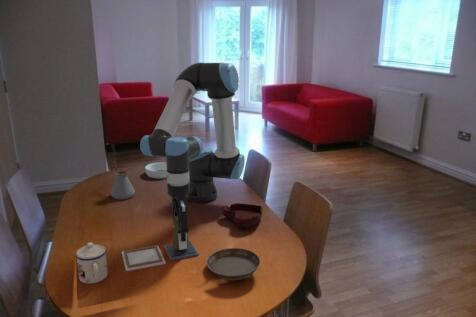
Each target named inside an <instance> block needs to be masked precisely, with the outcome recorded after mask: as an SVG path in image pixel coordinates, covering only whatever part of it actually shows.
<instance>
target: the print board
mask: <svg viewBox="0 0 476 317" xmlns="http://www.w3.org/2000/svg"><path fill="white" fill-rule="evenodd" d="M121 256H122V260H123V265H124V268H125V272H130V271H135V270H139V269H140V270H141V269H144V268H145V269H146V268H150V267H157V266H161V265H166V260H165V258H164V255H163V254H162V251H161V249H160V247H159V245H149V246H143V247H138V248H132V249H126V250H123V251H121Z"/></svg>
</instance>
